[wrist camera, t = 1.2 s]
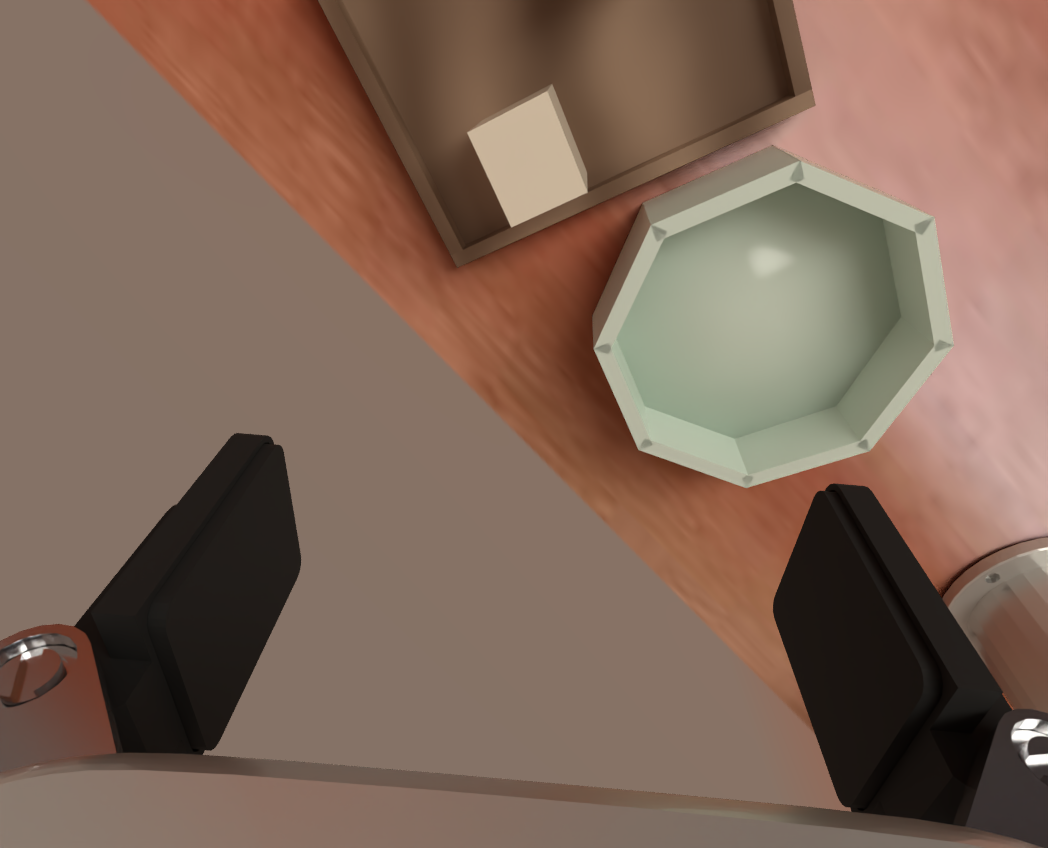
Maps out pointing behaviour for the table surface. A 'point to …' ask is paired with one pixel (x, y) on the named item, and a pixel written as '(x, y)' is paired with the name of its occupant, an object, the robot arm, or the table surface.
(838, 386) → the celadon bowl
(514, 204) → the beige upright box
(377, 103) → the walnut tray
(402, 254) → the table surface
